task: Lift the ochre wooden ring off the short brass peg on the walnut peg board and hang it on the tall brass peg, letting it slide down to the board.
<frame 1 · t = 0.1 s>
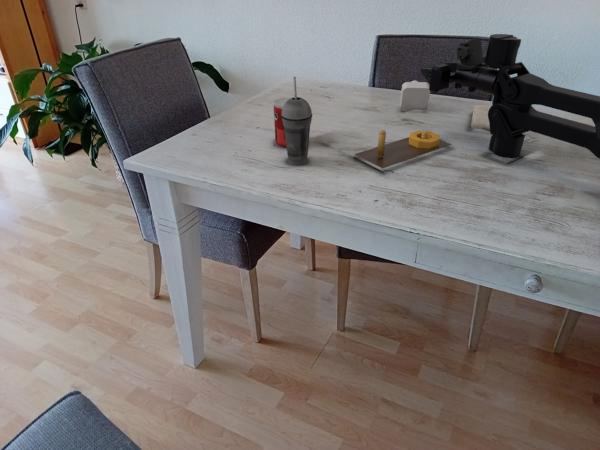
hand: (433, 67, 120), 17 cm above the table, tool horizontal, fingers open, 9 cm apart
ring: (423, 142, 116), point 1 cm above the table, touching peg rack
beverage cup: (297, 161, 111), on the table
grey block: (411, 108, 144), on the table
peg rack: (403, 153, 114), on the table
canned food: (290, 143, 121), on the table
washcloth: (492, 124, 131), on the table
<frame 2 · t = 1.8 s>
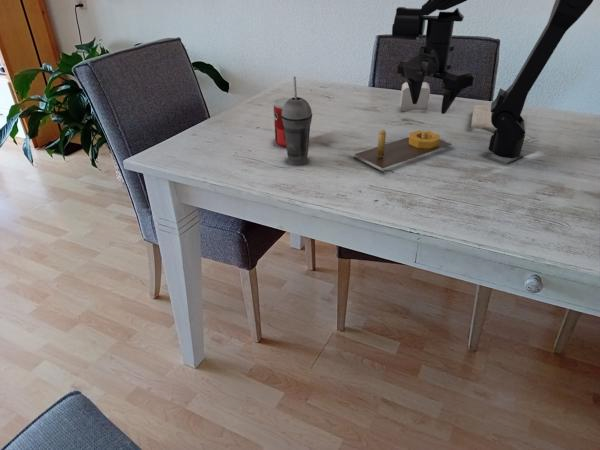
hand: (428, 108, 111), 10 cm above the table, tool pointing down, fingers open, 9 cm apart
nothing on the table moved.
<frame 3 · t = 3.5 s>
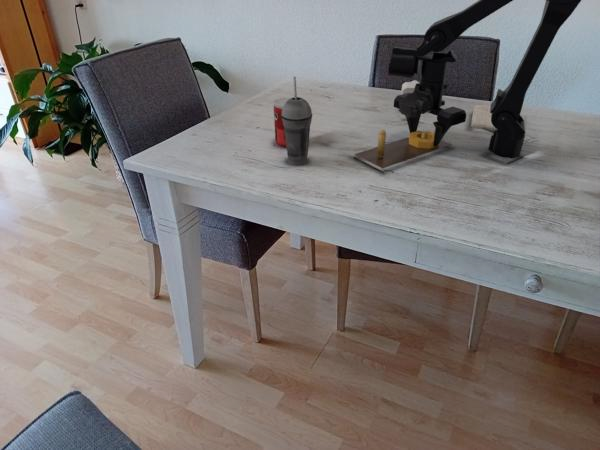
hand: (423, 141, 116), 2 cm above the table, tool pointing down, fingers closed on ring, 7 cm apart
ring: (423, 142, 116), point 1 cm above the table, touching gripper, peg rack
everything else where it was.
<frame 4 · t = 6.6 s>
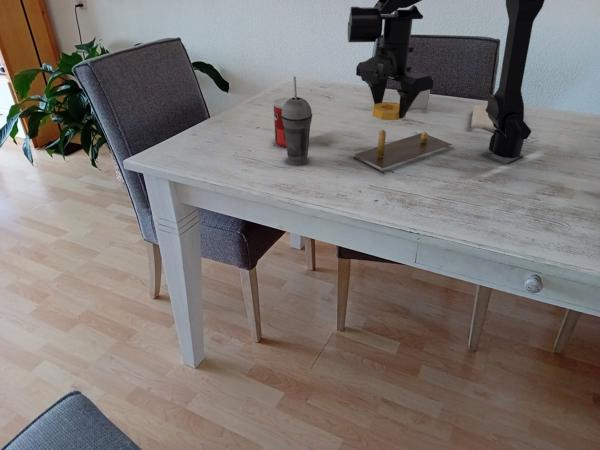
hand: (389, 113, 104), 12 cm above the table, tool pointing down, fingers closed on ring, 7 cm apart
ring: (389, 114, 105), point 11 cm above the table, touching gripper
everything else where it was.
when the fingers open (2 cm above the table, at t = 10.0 s): ring stays where it is, resting on peg rack.
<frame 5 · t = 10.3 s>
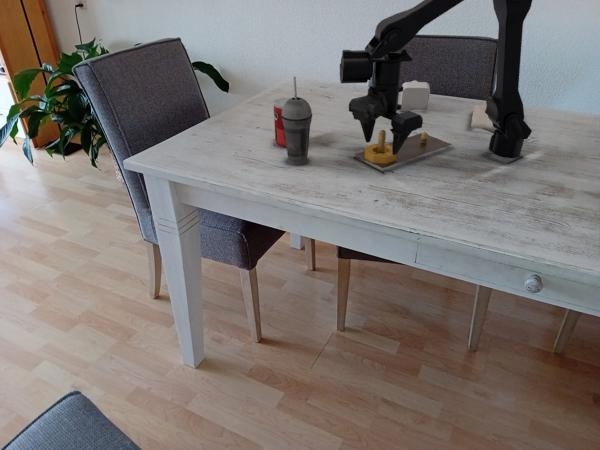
hand: (380, 148, 108), 3 cm above the table, tool pointing down, fingers open, 9 cm apart
ring: (380, 156, 109), point 1 cm above the table, touching peg rack
everything else where it was.
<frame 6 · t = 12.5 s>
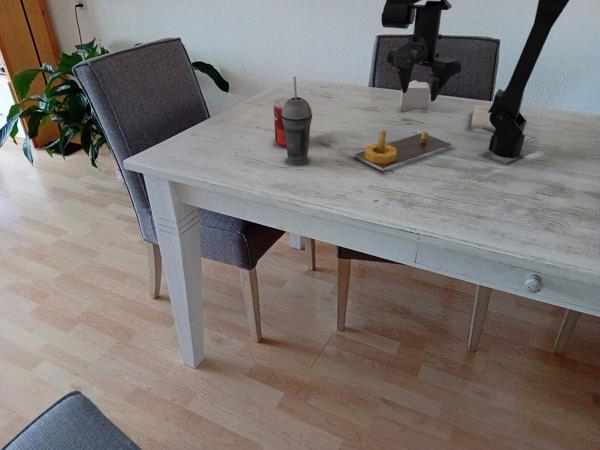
hand: (418, 96, 114), 12 cm above the table, tool pointing down, fingers open, 9 cm apart
nothing on the table moved.
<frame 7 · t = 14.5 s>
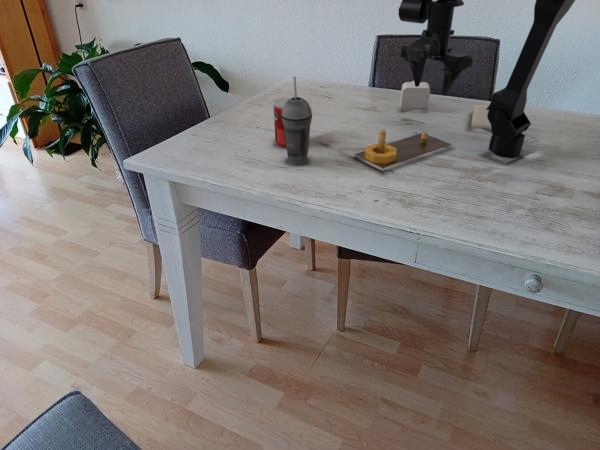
hand: (430, 90, 118), 12 cm above the table, tool pointing down, fingers open, 9 cm apart
nothing on the table moved.
at the end: ring 0.0 cm from the target spot, point 1.2 cm above the table; ring tilted 0°; the gripper is holding nothing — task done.
